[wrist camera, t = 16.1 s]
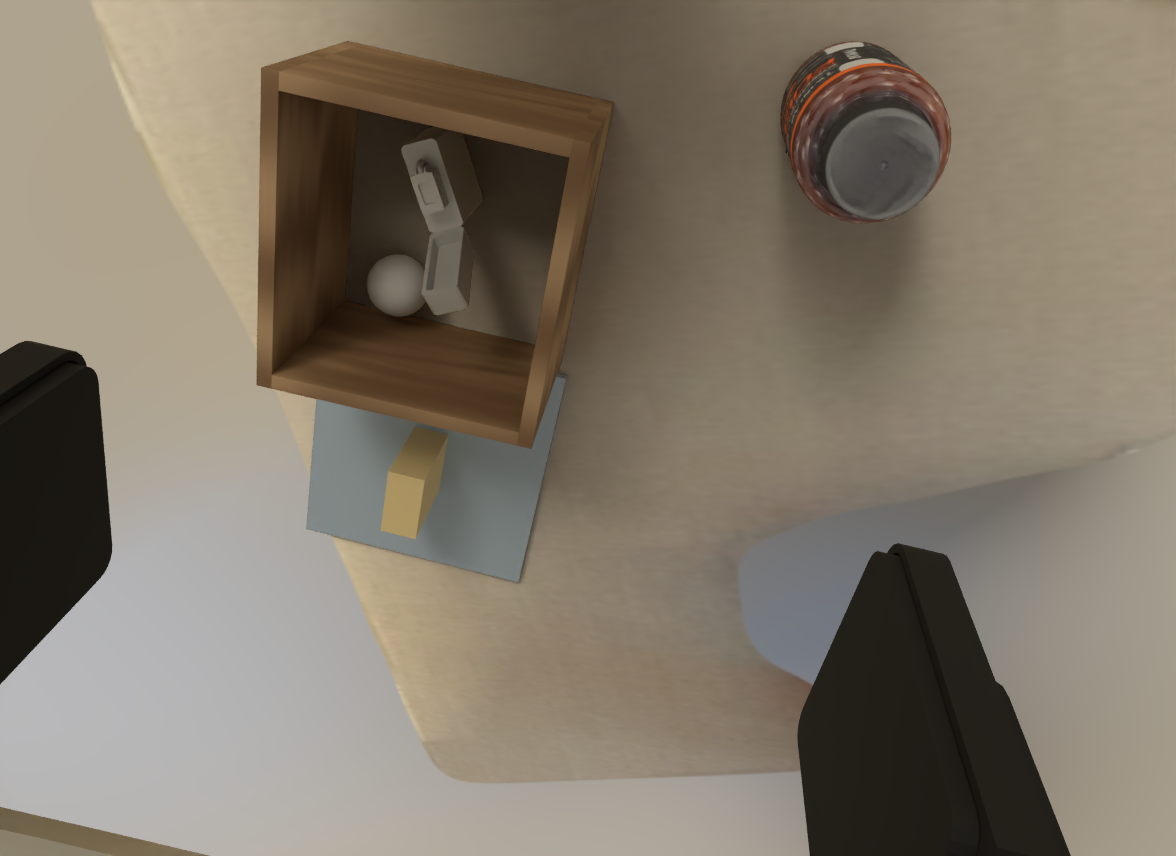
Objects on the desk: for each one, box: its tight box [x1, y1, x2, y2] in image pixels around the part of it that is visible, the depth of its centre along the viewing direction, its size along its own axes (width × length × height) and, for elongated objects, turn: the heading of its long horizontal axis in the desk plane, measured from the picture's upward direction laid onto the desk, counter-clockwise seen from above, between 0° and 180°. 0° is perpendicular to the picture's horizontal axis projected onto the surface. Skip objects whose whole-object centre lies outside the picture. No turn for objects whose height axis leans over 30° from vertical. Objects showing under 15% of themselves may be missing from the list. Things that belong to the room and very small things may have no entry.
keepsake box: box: [257, 41, 614, 449], centre depth 42 cm, size 14×13×10 cm
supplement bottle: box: [781, 42, 951, 223], centre depth 37 cm, size 6×6×11 cm
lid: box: [306, 373, 567, 582], centre depth 52 cm, size 15×14×6 cm
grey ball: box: [367, 254, 426, 317], centre depth 47 cm, size 3×3×3 cm
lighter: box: [401, 127, 483, 315], centre depth 42 cm, size 7×2×8 cm, turn 15°
